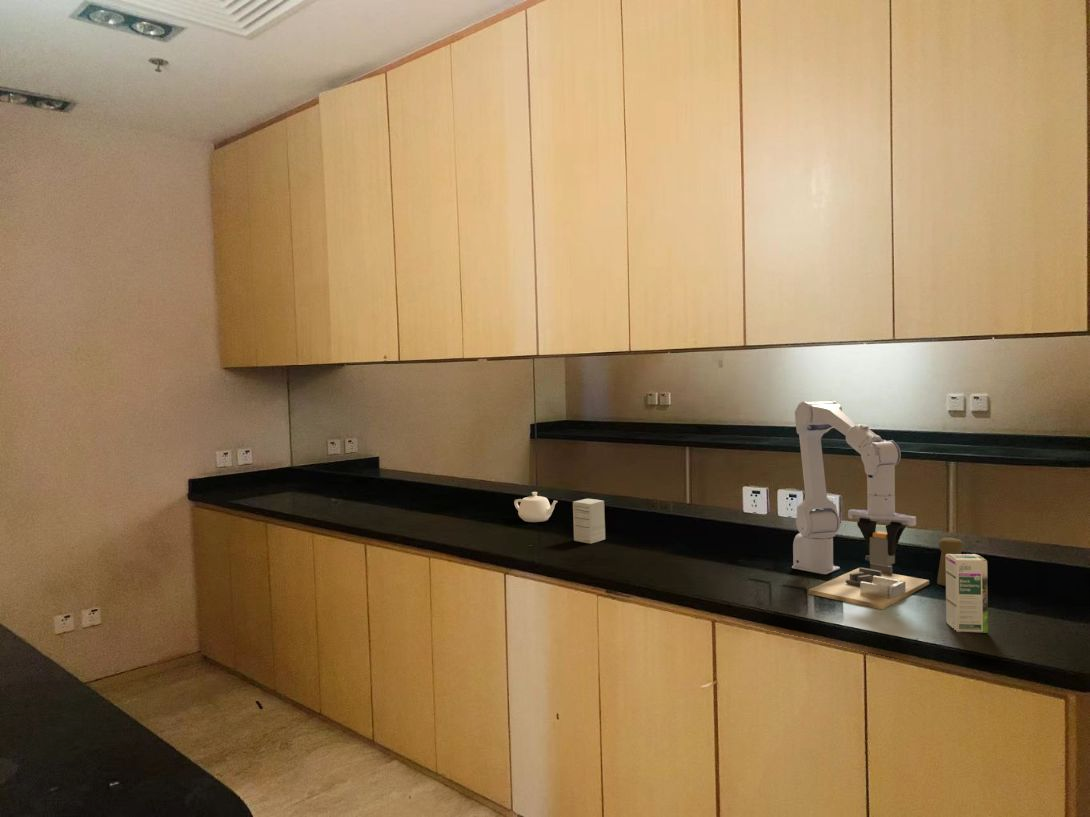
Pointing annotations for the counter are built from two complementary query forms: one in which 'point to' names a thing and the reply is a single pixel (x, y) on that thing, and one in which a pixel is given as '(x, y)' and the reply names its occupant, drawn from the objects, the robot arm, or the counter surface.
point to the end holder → (883, 587)
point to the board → (852, 594)
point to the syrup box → (966, 592)
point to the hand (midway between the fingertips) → (881, 553)
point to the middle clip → (860, 577)
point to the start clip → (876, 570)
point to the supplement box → (589, 520)
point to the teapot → (534, 508)
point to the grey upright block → (879, 549)
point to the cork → (947, 548)
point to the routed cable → (856, 582)
